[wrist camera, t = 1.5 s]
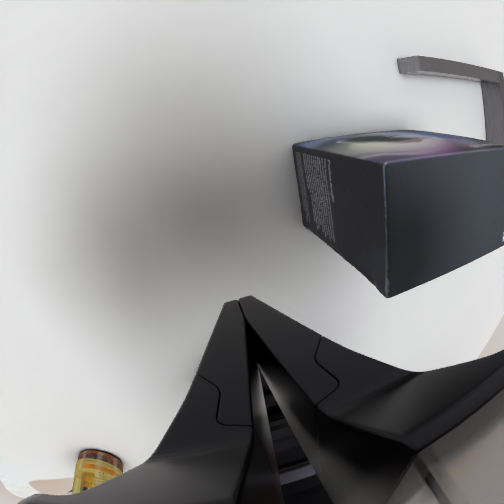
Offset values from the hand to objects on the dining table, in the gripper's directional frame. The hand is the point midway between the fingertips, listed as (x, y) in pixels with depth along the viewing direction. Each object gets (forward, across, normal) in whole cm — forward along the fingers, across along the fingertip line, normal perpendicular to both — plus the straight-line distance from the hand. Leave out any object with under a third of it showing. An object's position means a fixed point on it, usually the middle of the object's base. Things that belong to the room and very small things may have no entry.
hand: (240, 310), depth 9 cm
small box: (+12, -12, 0) cm, 17 cm away
